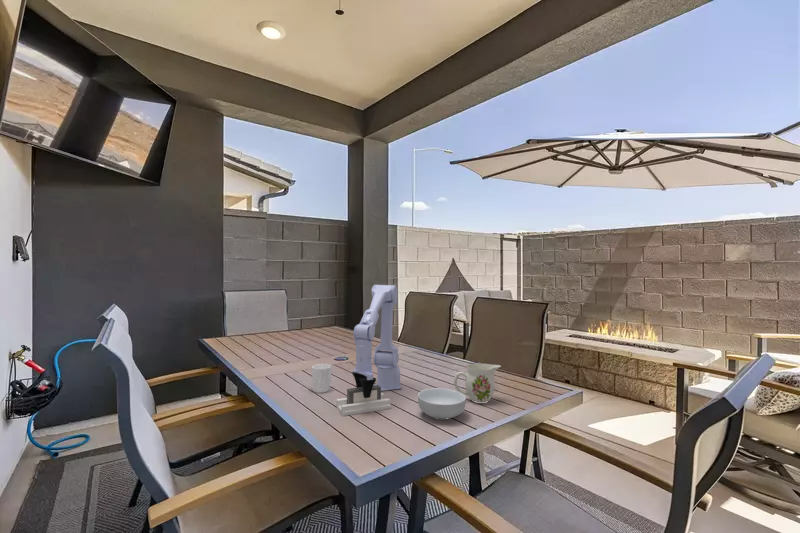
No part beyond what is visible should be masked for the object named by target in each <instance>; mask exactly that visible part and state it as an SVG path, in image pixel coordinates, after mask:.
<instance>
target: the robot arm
mask: <svg viewBox="0 0 800 533" xmlns="http://www.w3.org/2000/svg"><path fill="white" fill-rule="evenodd" d="M371 298H372V299H371V302H370V306H369V308H368V309H366V310H365V311H364V313H363V316H362V317H361V319H360V322H359V323H358V324H356V325H355V326H354V328H353V334H352V335H353V339H354V345H355V348H356V349H355V354H356V355H355V366H354V368H353V369H352V372H351V374H352V376H353V379H354V381H355V385H356V386H355V388H358V387H362V388H363V395H364V398H370V396H371V391H372V388H373V385H379V386H380V387H381V392H385V391H391V390H392V391H393V390H397V389H400V390H401V388H402V387H401V369H400V367H399V366H398V364H399V360H400V359H399V357H400V356H399V350H398V347H397V346H395V345H394V344H393V323H394V322H393V319H394V305H398V287H397V286H396V285H395V284H392V285H390V284H389V285H388V284H374V285H373V286H372V287H371ZM380 309H381V321H380V324H381V325H380V343H379V344H378V345H376V346H375V347H374V352H372V351H373V347H372V346H373V345H372V344H373V340H374V338H375V333H376V325H377V323H378V320H379V318H380V315H379V314H380V313H379V312H380ZM372 354H373V356H372ZM372 358H373V359H372ZM373 363H374V366H375V367H376V369H377V374H376V375H377V377H374V374H373V368H372V366H373V365H372V364H373ZM375 383H376V384H375Z"/></svg>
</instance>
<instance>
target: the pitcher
mask: <svg viewBox="0 0 800 533" xmlns="http://www.w3.org/2000/svg"><path fill="white" fill-rule="evenodd" d="M501 367H502V365H501V364H491V363H480V364H477V363H469V364H467V365H466V371H467V372H464V371H459V372H456V374H454V377H453V385H454V388H455V389H456V391H458V392H461V393H462V394H464V395H465V396H468V397H469V399H470V401H471V400H473V401H477V402H486V401H489V402H490V400H491V399H492V397H493V395H494V390H495V377H494V375H495V372H496V371H497V370H498V369H499V368H501ZM460 376H464V377H465V389H466V390H463V389H461V388H460V386H459V385H458V378H459V377H460Z"/></svg>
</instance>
